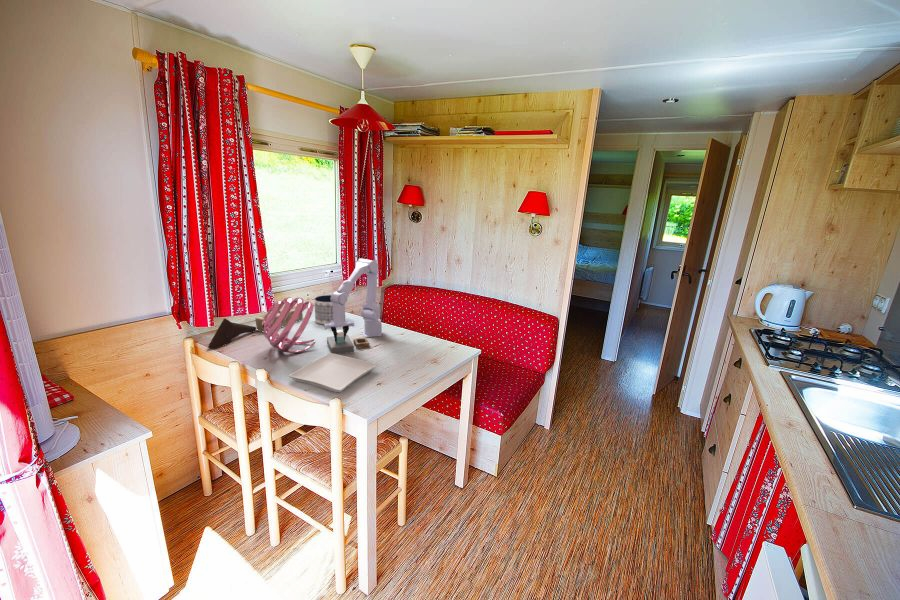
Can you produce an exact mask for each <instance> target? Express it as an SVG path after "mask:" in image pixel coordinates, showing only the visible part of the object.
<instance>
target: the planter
mask: <svg viewBox="0 0 900 600" xmlns="http://www.w3.org/2000/svg"><path fill="white" fill-rule="evenodd" d="M331 295H332V294H325V295H319V296H316V297H315V298H314V300H313V301H314V303H313V304H314V322H316V323H317V324H321V325H325V324H328V323H333V322H334V315H333V305H332V302H331V300H330V298H331Z"/></svg>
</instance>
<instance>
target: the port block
mask: <svg viewBox="0 0 900 600" xmlns="http://www.w3.org/2000/svg"><path fill="white" fill-rule="evenodd" d="M326 343H327V344H328V345H327V347H328V349H329V353H333V354H338V355H344V354H350V353H355V345H354V343H353V341H352V340H351V338H350V336H349V335H348V334H346V337H345V340H344V343H340V344H336V341H335V337H334V335H333V336H326Z"/></svg>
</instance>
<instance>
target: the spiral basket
mask: <svg viewBox="0 0 900 600" xmlns="http://www.w3.org/2000/svg"><path fill="white" fill-rule="evenodd" d="M295 305H296V309H295V311H294V313H293V315H292V317H291V318H290V320H289V322H288V324H287V325H286V326H284V329H283V330H282V331H281V333H280V334H279V330H280V329H281V328H282V327H281V325H282V323H283V321H284V320H285V318H286V317H287V315H288V314H289V312H290V311H291V309H292V308H293V307H294V306H295ZM282 309H283V310H282ZM306 309H307V311H306V314H305V316H304V317H303V319H302V320H301V323H300V325H299V327H298V329H297V330H296V332H295V334H294V335H293V336H292V337H291V338H288V337H289V334H290V333H291V330H292V329H293V326H294V325H295V323H297V322H296V320H297V319H298V317H299V316H300V314H301V313H302V314H303V312H304V311H305V310H306ZM280 310H282V312H281V313H280V315H279V317H278V319H277V320H276V322H275V323H274V325H273V326H272V327H271V328H270V326H271V324H272V322H273V320H274V319H275V317H276V315H277V314H278V312H279V311H280ZM313 311H314V303H313V302H312V301H309V300H307V301H305V302H304V299H303V298H302V297H300V296H299V297H298V296H297V297H296V298H294V299H293V297H290V296H288V297H285V298H284V299H283V300H282V301H281V300H280V299H279V300H277V301H275V302H274V303H273V304H272V306H270V307H269V309H268V311H267V312H266V314H264V315H265V316H264V319H263V323H262V327H263V329H264V332H263V336H264V338H265V339H266V340H267V341H268V342H269V345H270V346H271V347H272V348H275V349H277V350H278V351H280V352H282V353H287V354H298V353H302V352H305V351H308V350H310V348H312V347H313V346H314V345H315V343H316V341H315V339H310V340H299V338H300V337H301V335H302V334H303V333H304V331H305V329H306V327H307V325H308V324H309V321H310V319H311V318H312V314H313ZM270 313H271V314H270ZM269 314H270V316H269ZM268 316H269V317H268ZM280 327H281V328H280ZM312 342H313V343H312ZM309 343H311V344H310V345H309V346H307V347H305V348H303V349H300V350H291V349H292V348H293V347H294V345H305V344H309ZM285 344H286V345H285Z"/></svg>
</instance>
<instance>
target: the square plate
mask: <svg viewBox="0 0 900 600" xmlns="http://www.w3.org/2000/svg"><path fill="white" fill-rule="evenodd" d="M376 366H377V364H376V363H373V362H369V361H366V360H363V359H358V358H354V357H351V356H346V355H344V354H333V353H331V352H329V353H326V354H325V355H323V356H320V357H318V358H317V359H315V360H314V361H311V362H310V363H308V364H306V365H304V366H302V367H300V368H299V369H297V370H295V371H293V372H291V373H290V374H288V375H287V377H289V378H290V379H293V380H295V381H296V382H300V383H304V384H308V385H312V386H316V387H319V388H322V389H325V390H329V391H331V392H335V393H340V392H342V391H343V390H345V389H346V388H348V387H349V386H350V385H352V384H353V383H355V382H356V381H357V380H359V379H360V378H362V377H363V376H365V375H366V374H368V373H369V372H371V371H372V370H373V369H375V368H376Z"/></svg>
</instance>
